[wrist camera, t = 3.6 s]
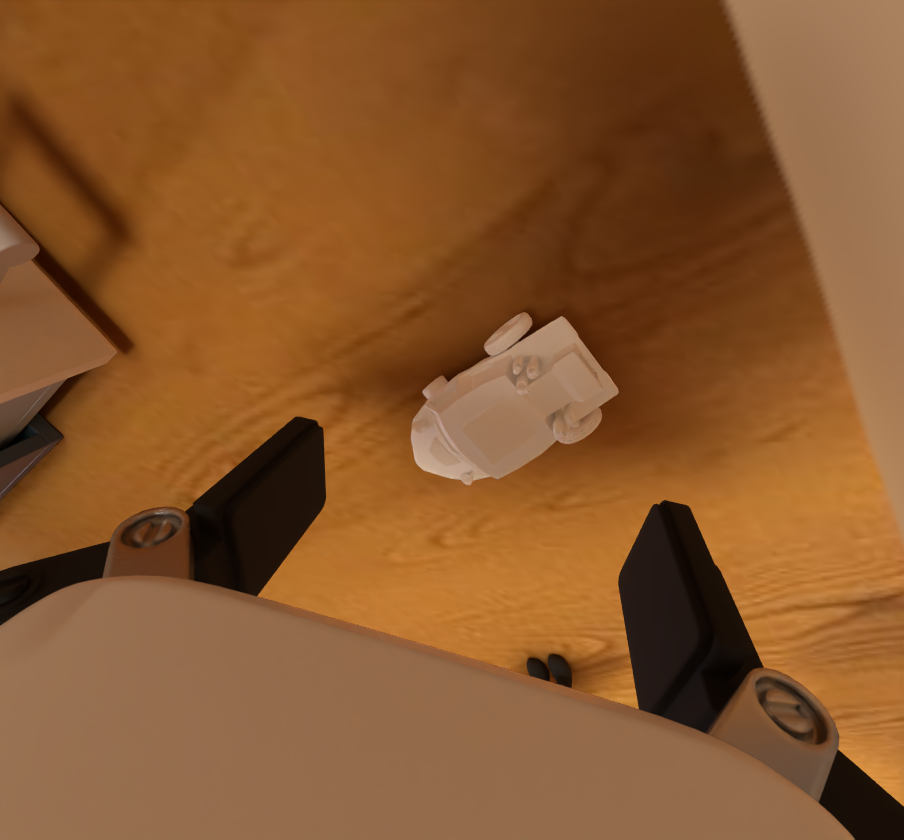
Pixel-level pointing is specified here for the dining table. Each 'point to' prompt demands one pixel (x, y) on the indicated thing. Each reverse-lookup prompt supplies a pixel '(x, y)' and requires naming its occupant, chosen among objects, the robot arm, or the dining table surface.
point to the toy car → (511, 403)
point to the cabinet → (26, 452)
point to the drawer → (36, 334)
